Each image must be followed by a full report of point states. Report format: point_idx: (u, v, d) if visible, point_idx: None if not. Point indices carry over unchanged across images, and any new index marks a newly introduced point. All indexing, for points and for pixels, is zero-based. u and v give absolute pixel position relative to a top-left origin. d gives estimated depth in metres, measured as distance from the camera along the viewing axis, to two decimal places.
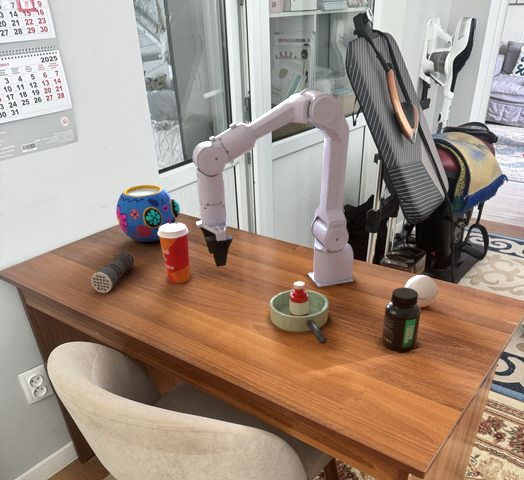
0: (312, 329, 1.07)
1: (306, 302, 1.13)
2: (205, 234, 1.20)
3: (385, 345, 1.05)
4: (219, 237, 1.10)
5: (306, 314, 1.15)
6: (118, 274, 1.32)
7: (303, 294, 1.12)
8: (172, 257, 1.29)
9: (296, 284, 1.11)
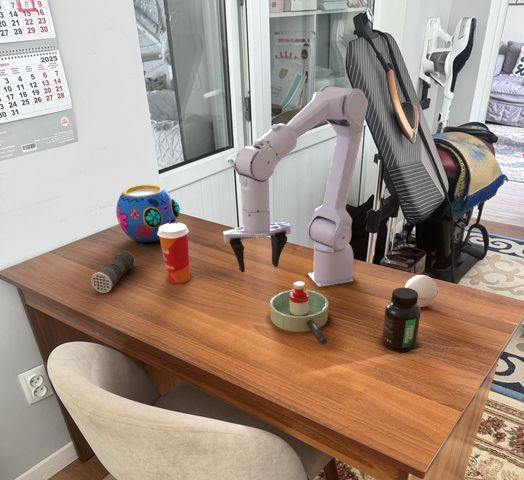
0: (312, 329, 1.07)
1: (306, 302, 1.13)
2: None
3: (385, 345, 1.05)
4: None
5: (306, 314, 1.15)
6: (118, 274, 1.32)
7: (303, 294, 1.12)
8: (172, 257, 1.29)
9: (296, 284, 1.11)
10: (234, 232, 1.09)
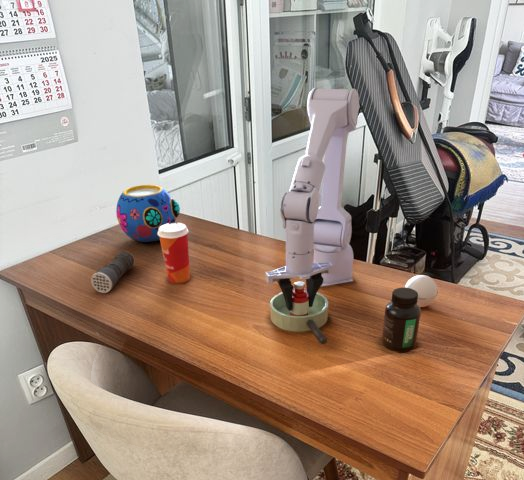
0: (312, 329, 1.07)
1: (306, 302, 1.13)
2: None
3: (385, 345, 1.05)
4: None
5: (306, 314, 1.15)
6: (118, 274, 1.32)
7: (303, 294, 1.12)
8: (172, 257, 1.29)
9: (296, 284, 1.11)
10: (277, 273, 1.09)
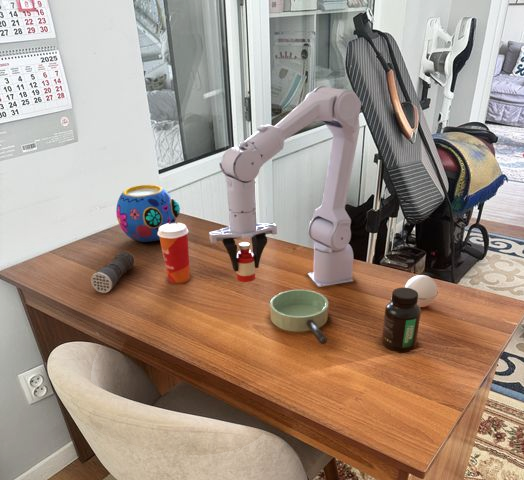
0: (312, 329, 1.07)
1: (251, 262, 1.14)
2: None
3: (385, 345, 1.05)
4: None
5: (252, 275, 1.16)
6: (118, 274, 1.32)
7: (248, 254, 1.13)
8: (172, 257, 1.29)
9: (241, 244, 1.13)
10: (220, 232, 1.10)
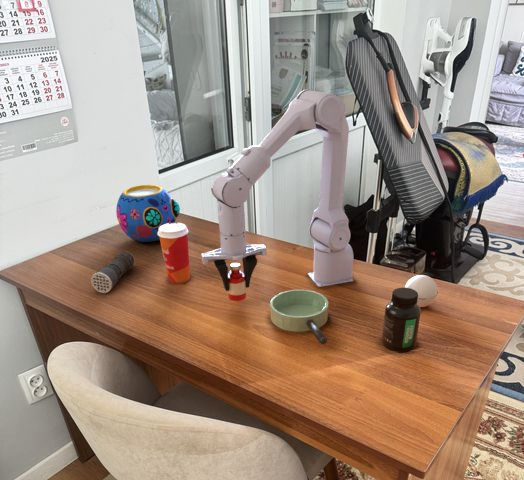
0: (312, 329, 1.07)
1: (242, 282, 1.18)
2: None
3: (385, 345, 1.05)
4: None
5: (243, 294, 1.20)
6: (118, 274, 1.32)
7: (239, 275, 1.17)
8: (172, 257, 1.29)
9: (232, 265, 1.17)
10: (212, 254, 1.14)
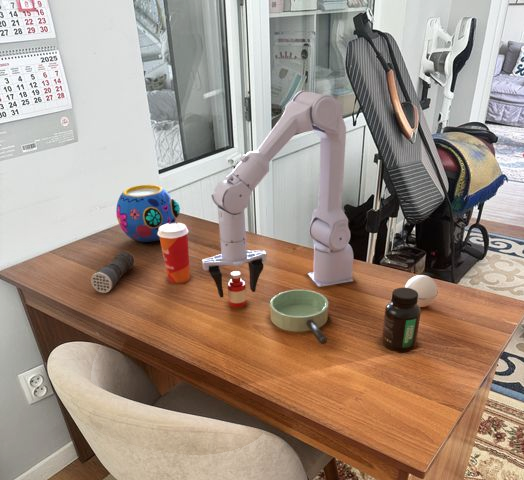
0: (312, 329, 1.07)
1: (242, 291, 1.19)
2: None
3: (385, 345, 1.05)
4: None
5: (243, 302, 1.21)
6: (118, 274, 1.32)
7: (239, 283, 1.18)
8: (172, 257, 1.29)
9: (232, 274, 1.18)
10: (212, 260, 1.15)
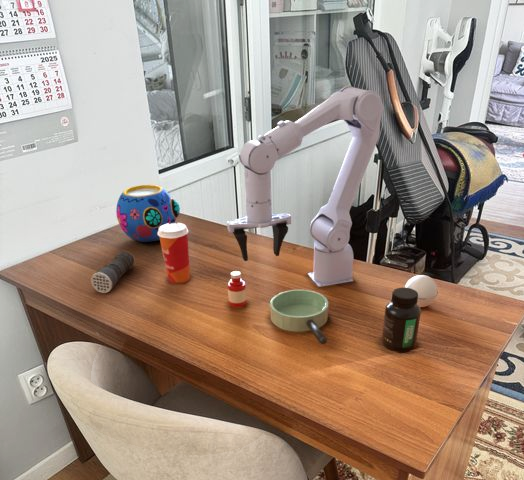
0: (312, 329, 1.07)
1: (242, 291, 1.19)
2: None
3: (385, 345, 1.05)
4: None
5: (243, 302, 1.21)
6: (118, 274, 1.32)
7: (239, 283, 1.18)
8: (172, 257, 1.29)
9: (232, 274, 1.18)
10: (238, 222, 1.15)
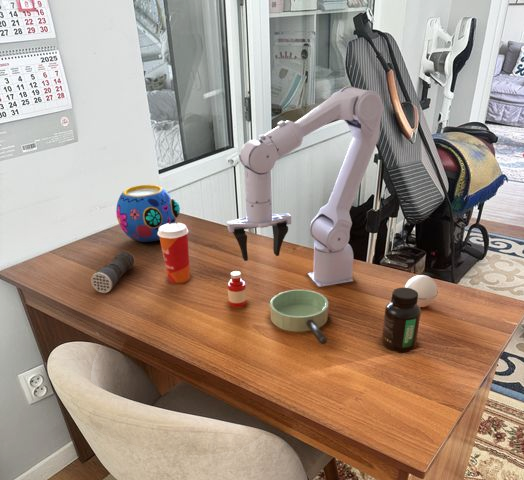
0: (312, 329, 1.07)
1: (242, 291, 1.19)
2: None
3: (385, 345, 1.05)
4: None
5: (243, 302, 1.21)
6: (118, 274, 1.32)
7: (239, 283, 1.18)
8: (172, 257, 1.29)
9: (232, 274, 1.18)
10: (238, 222, 1.15)
